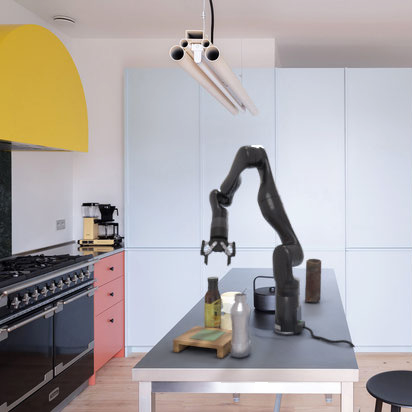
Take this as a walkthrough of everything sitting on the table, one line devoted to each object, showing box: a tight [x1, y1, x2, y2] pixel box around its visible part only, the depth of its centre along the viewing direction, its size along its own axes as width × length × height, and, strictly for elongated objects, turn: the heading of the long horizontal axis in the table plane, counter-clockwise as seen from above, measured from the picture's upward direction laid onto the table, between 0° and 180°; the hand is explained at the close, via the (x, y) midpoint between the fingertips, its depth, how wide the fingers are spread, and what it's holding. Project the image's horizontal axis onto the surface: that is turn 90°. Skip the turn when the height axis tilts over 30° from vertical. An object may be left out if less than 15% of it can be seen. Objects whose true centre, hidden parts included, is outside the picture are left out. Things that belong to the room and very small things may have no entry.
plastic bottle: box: [229, 292, 252, 358], centre depth 133 cm, size 6×7×20 cm
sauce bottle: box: [203, 276, 222, 329], centre depth 158 cm, size 6×6×20 cm
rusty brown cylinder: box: [304, 258, 322, 303], centre depth 196 cm, size 8×7×20 cm
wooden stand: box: [172, 325, 232, 359], centre depth 141 cm, size 18×14×4 cm
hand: (217, 264), depth 169 cm, fingers open, 8 cm apart
